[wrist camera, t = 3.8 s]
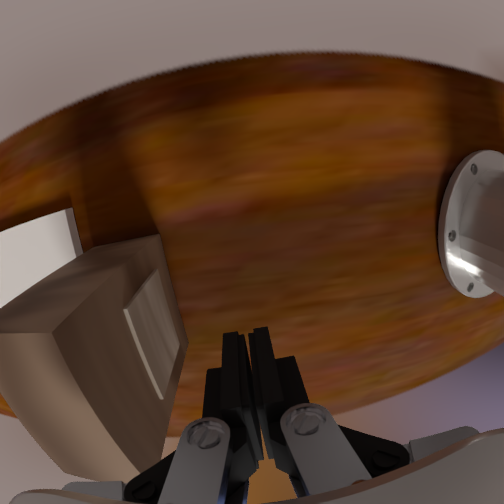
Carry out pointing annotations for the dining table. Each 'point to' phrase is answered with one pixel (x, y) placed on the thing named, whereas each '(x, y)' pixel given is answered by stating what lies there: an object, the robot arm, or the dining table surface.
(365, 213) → the dining table surface
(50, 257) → the board
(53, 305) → the walnut block
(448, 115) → the dining table surface
